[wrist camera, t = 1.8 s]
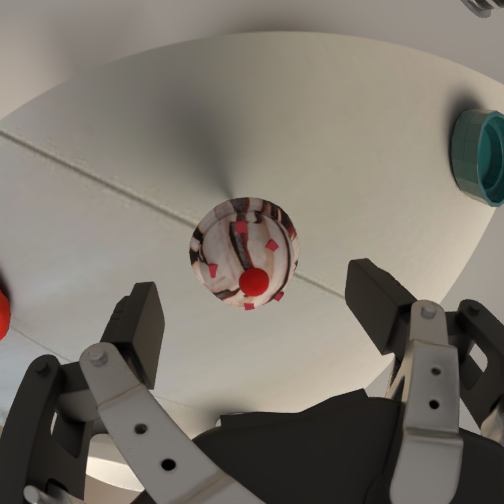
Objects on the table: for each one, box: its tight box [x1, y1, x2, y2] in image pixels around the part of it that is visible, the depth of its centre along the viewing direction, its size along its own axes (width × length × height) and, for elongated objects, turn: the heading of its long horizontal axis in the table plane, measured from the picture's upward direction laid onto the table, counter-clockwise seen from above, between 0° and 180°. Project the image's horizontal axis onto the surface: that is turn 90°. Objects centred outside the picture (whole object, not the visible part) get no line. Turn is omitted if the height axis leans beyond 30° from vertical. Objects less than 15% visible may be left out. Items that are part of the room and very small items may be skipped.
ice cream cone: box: [189, 197, 299, 310], centre depth 17 cm, size 6×6×15 cm
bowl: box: [86, 434, 145, 492], centre depth 38 cm, size 22×22×8 cm
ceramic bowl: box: [451, 108, 504, 207], centre depth 22 cm, size 12×12×5 cm
